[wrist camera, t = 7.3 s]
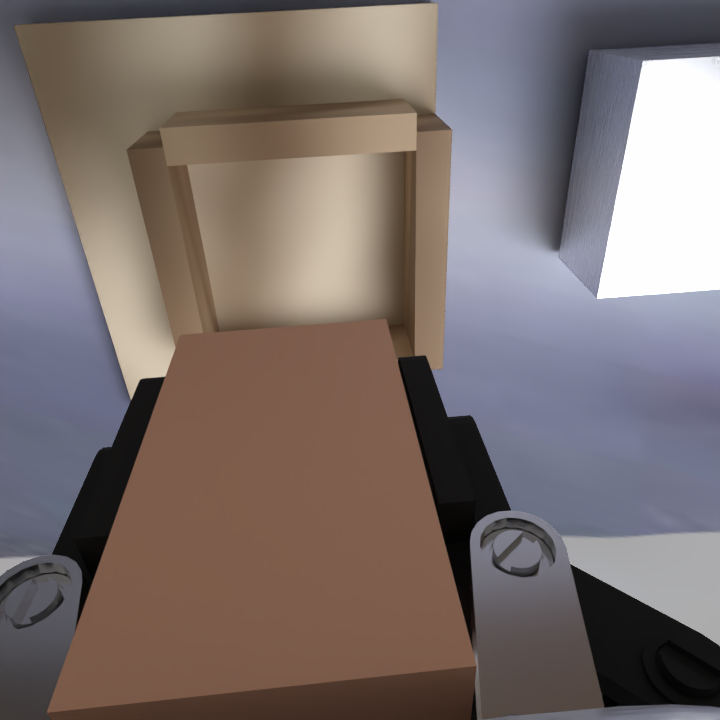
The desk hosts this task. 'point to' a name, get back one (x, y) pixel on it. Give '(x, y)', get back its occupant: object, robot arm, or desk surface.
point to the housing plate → (646, 173)
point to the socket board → (252, 171)
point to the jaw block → (275, 546)
